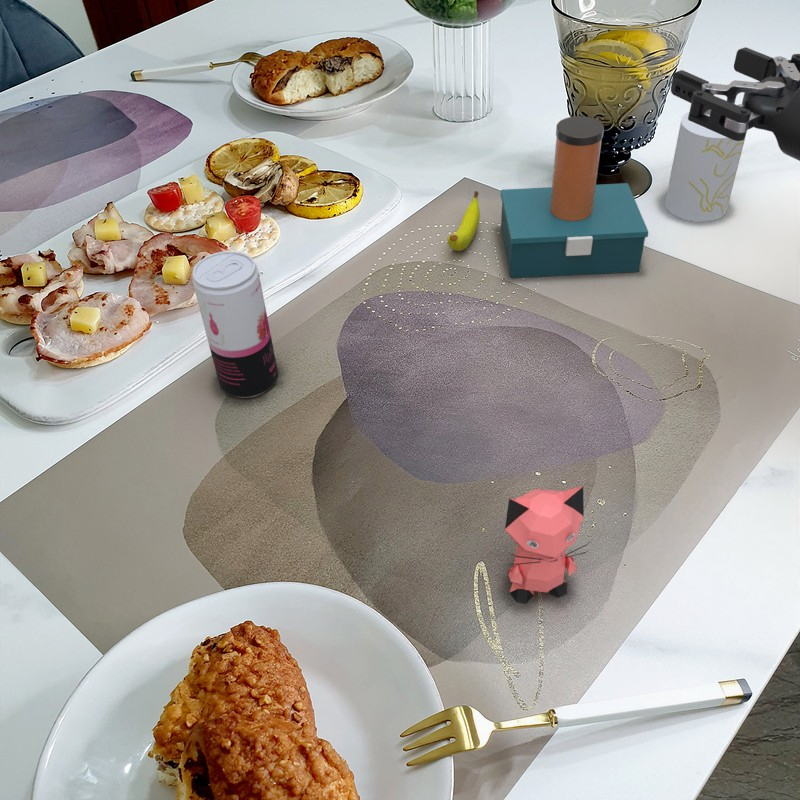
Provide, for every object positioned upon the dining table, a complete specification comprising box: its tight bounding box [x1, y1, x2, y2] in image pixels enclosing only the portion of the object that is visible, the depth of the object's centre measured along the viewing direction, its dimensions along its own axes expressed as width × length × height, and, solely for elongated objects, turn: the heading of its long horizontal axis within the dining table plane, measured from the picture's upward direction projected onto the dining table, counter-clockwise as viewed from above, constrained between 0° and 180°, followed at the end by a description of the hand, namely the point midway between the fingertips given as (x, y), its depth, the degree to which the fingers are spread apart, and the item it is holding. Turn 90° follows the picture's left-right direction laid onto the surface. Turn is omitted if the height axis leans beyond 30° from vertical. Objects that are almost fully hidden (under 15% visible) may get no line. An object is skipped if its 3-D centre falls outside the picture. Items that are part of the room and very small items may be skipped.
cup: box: [664, 111, 748, 223], centre depth 113 cm, size 8×8×12 cm
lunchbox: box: [500, 182, 649, 279], centre depth 109 cm, size 16×12×6 cm
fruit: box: [446, 190, 481, 252], centre depth 111 cm, size 10×2×5 cm, turn 159°
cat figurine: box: [504, 486, 593, 604], centre depth 71 cm, size 7×7×12 cm
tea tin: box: [550, 115, 605, 221], centre depth 103 cm, size 5×5×11 cm
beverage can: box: [192, 250, 279, 399], centre depth 90 cm, size 7×7×15 cm
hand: (706, 69), depth 83 cm, fingers open, 8 cm apart
